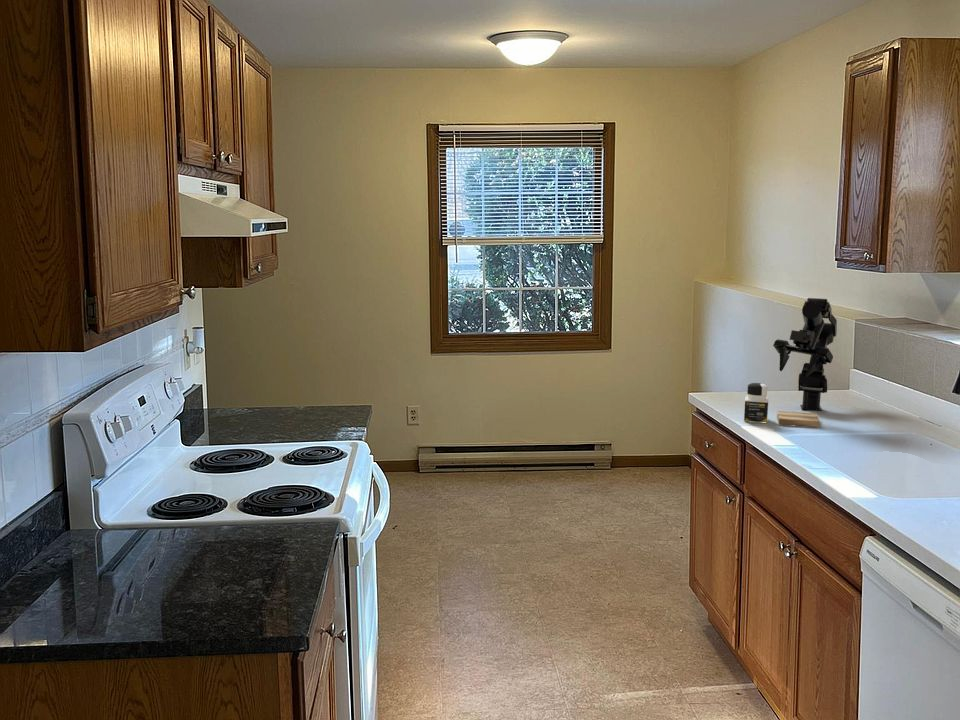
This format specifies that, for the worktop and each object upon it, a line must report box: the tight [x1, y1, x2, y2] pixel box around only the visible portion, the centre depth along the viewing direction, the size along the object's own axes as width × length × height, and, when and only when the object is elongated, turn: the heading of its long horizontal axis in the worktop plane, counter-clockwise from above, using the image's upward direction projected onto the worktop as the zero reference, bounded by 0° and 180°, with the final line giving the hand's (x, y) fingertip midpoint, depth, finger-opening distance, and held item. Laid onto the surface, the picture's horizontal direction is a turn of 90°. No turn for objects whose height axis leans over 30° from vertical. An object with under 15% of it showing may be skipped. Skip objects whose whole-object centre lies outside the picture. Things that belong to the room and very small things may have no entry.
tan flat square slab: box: [776, 410, 820, 428], centre depth 306 cm, size 12×12×2 cm
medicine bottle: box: [743, 382, 769, 424], centre depth 307 cm, size 7×7×12 cm
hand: (793, 373), depth 312 cm, fingers open, 9 cm apart
